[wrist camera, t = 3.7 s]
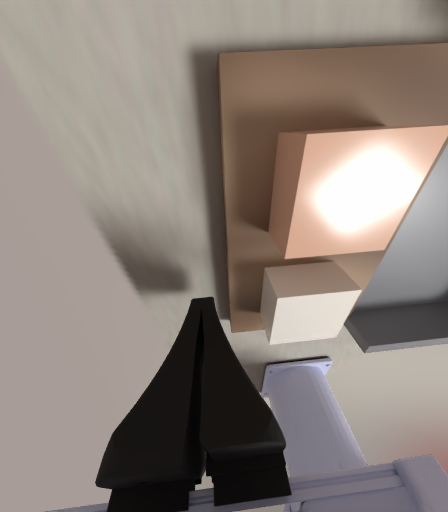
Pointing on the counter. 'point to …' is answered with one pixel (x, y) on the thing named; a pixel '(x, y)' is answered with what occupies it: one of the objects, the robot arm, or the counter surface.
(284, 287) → the cream tile
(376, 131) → the terracotta tile
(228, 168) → the walnut plate
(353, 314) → the tray
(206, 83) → the counter surface
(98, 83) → the counter surface
